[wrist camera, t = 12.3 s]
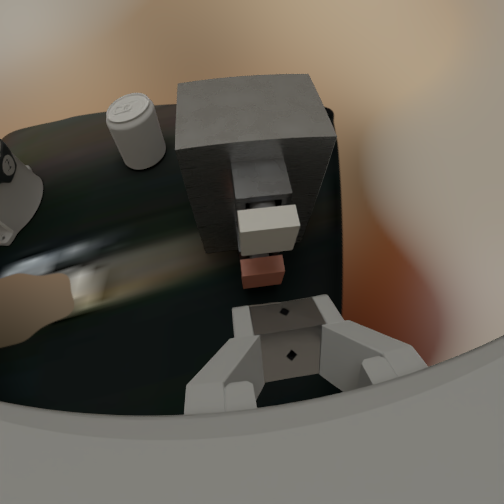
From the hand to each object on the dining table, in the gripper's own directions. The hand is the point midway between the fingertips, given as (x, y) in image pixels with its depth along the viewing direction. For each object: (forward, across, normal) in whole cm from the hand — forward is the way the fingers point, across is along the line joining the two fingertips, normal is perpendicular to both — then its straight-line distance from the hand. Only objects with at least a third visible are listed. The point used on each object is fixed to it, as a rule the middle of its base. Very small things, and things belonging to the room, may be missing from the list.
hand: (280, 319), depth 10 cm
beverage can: (+49, -15, +4) cm, 51 cm away
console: (+36, +2, -8) cm, 37 cm away
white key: (+20, +2, -3) cm, 21 cm away
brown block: (+28, +2, -11) cm, 30 cm away
